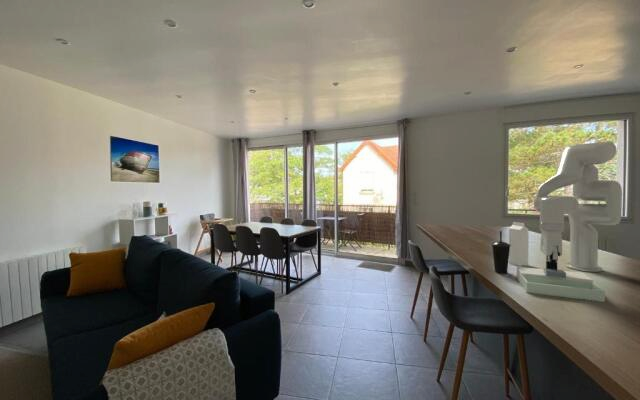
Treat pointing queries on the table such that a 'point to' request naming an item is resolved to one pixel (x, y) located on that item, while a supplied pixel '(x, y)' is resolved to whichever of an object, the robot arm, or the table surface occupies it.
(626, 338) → the table surface
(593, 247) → the robot arm
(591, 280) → the cream rectangular block
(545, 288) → the box
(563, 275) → the slate tile
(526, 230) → the milk
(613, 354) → the table surface
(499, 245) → the drinking cup
